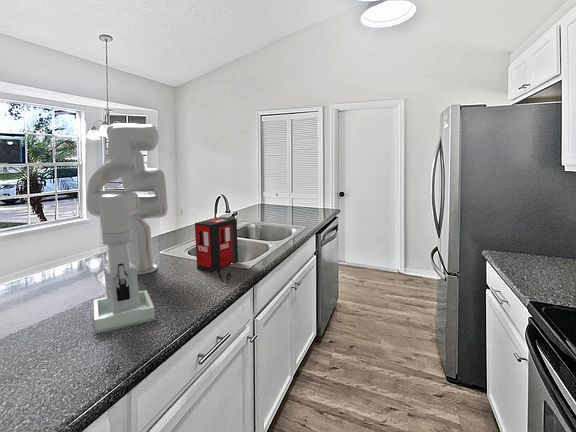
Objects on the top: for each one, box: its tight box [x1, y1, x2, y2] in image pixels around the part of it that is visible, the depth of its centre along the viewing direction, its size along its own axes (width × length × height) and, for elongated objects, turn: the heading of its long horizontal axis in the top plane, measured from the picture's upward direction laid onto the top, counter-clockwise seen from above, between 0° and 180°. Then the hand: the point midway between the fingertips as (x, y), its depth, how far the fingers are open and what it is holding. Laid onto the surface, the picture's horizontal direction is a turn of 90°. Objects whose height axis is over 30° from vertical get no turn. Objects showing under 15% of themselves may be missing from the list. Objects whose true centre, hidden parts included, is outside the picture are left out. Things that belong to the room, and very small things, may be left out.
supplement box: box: [103, 262, 140, 314], centre depth 98 cm, size 7×7×13 cm
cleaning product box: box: [194, 216, 239, 273], centre depth 145 cm, size 16×9×20 cm, turn 150°
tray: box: [93, 289, 156, 334], centre depth 99 cm, size 15×15×4 cm
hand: (122, 294), depth 99 cm, fingers closed on supplement box, 8 cm apart
